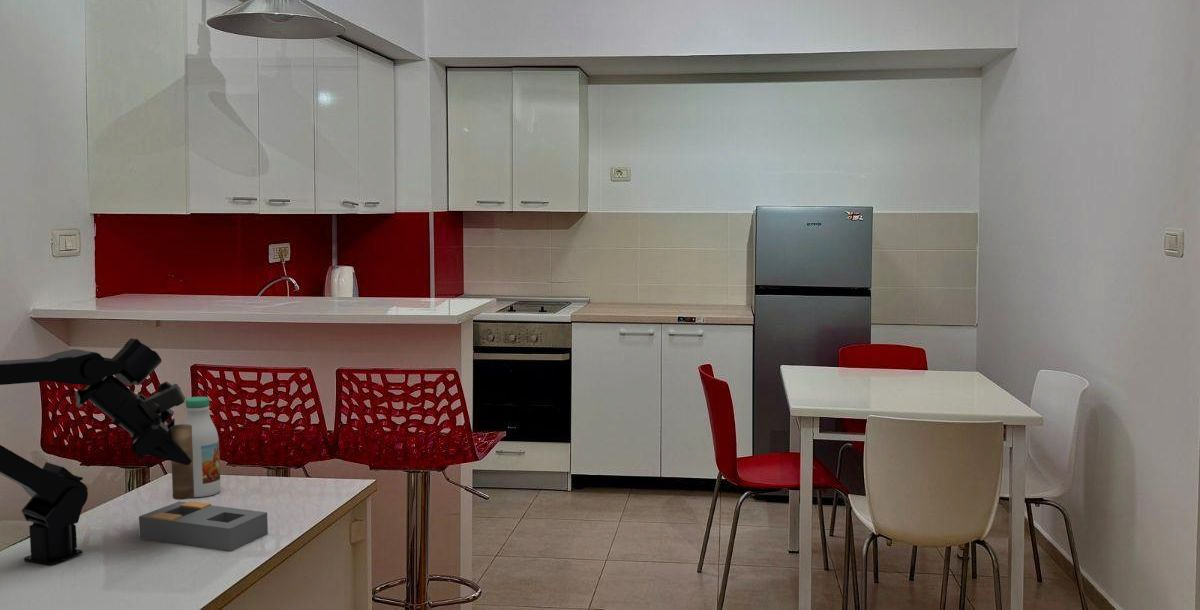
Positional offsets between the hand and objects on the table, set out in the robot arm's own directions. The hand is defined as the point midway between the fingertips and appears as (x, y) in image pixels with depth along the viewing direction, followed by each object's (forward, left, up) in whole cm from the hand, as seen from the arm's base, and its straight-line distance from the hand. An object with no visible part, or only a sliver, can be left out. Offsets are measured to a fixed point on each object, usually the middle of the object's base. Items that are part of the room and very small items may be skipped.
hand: (190, 460), depth 186 cm
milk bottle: (+21, +17, -14) cm, 31 cm away
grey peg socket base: (-1, -3, -13) cm, 14 cm away
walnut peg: (-1, +1, -7) cm, 7 cm away
